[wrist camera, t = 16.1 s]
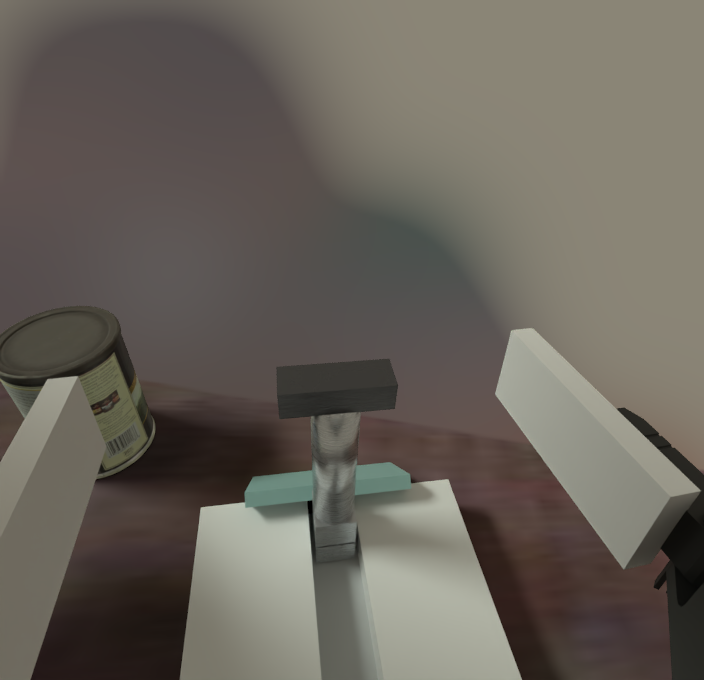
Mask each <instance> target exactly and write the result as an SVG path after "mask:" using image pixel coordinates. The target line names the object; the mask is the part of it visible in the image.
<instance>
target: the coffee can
mask: <svg viewBox="0 0 704 680" xmlns="http://www.w3.org/2000/svg"><path fill="white" fill-rule="evenodd" d="M74 376H78V377H79V380H80V382H81V385H82V387H83V390H84V392H85V394H86V397H87V399H88V402H89V404H90V407H91V409H92V412H93V414H94V417H95V419H96V421H97V424H98V426H99V429H100V431H101V434H102V436H103V439H104V441H105V444H106V449H105V453H104V456H103V459H102V462H101V465H100V468H99V471H98V474H97V477H96V479H99V478H103V477H107V476H110V475H113V474H115V473H117V472H120V471H121V470H123V469H125V468H126V467H128V466H130V465H131V464H133V463H134V462H135V461H136V460H138V459H139V458H140V457H141V456H142V455H143V454H144V453H145V452H146V450H147V449H148V447H149V446H150V445H151V443H152V440H153V438H154V435H155V422H154V419H153V417H152V416H151V413H150V411H149V408H148V406H147V403H146V400H145V397H144V395H143V392H142V389H141V387H140V384H139V381H138V379H137V376H136V374H135V370H134V368H133V365H132V362H131V359H130V357H129V354H128V351H127V348H126V346H125V343H124V341H123V338H122V335H121V328H120V324H119V322H118V320H117V318H116V317H115V316H114V315H113V314H112V313H110V312H109V311H106V310H104V309H101V308H97V307H90V306H71V307H63V308H58V309H53V310H49V311H45V312H42V313H39V314H36V315H33V316H31V317H28V318H26V319H24V320H22V321H20V322H18V323H16V324H15V325H13V326H11V327H10V328H8V329H7V330H5V331H4V332H3V333H2V334H0V381H1V382H2V384H3V385H4V387H5V388H6V390H7V392H8V393H9V395H10V396H11V398H12V399H13V401H14V402H15V404H16V406H17V407H18V409H19V410H20V412H21V413H22V415H23V417H24V418H26V416H27V414H28V413H29V411H30V409H31V407H32V406H33V404H34V402H35V400H36V398H37V397H38V395H39V393H40V391H41V390H42V388H43V386H44V384H45V383H46V381H47V379H55V378H64V377H74Z"/></svg>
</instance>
